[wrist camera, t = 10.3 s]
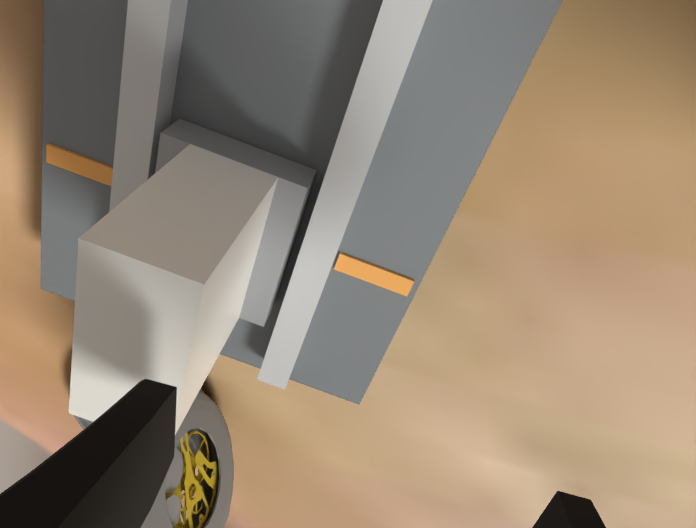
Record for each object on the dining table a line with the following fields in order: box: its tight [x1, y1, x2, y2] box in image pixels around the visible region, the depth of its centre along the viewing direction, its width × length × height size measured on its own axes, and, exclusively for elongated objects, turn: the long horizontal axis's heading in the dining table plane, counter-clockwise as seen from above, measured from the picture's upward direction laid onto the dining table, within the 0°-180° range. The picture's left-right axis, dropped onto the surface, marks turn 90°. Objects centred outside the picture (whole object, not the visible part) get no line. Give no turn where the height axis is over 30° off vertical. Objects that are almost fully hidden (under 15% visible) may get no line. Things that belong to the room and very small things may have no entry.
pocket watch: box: [69, 388, 234, 528], centre depth 20 cm, size 8×8×10 cm
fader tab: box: [69, 119, 317, 435], centre depth 14 cm, size 4×5×6 cm
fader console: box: [41, 0, 562, 404], centre depth 14 cm, size 12×23×3 cm, turn 162°
